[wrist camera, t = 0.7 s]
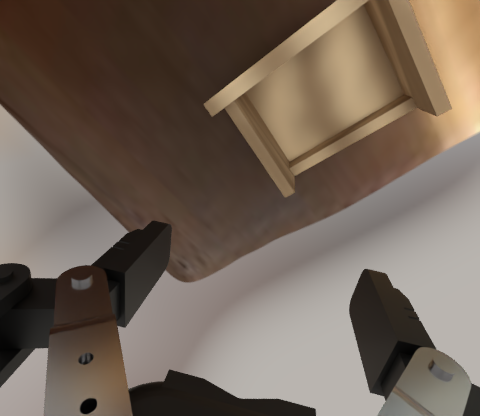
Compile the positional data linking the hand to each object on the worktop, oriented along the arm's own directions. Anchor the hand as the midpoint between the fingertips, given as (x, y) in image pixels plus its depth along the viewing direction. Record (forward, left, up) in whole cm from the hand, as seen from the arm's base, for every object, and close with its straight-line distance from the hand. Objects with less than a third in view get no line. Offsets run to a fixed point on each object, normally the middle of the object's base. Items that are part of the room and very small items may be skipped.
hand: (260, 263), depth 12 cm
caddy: (-6, -1, -22) cm, 22 cm away
